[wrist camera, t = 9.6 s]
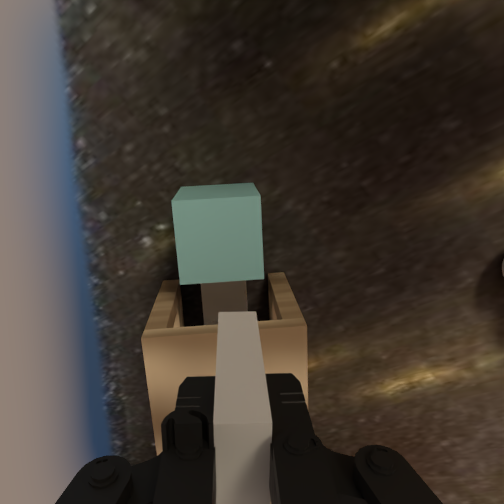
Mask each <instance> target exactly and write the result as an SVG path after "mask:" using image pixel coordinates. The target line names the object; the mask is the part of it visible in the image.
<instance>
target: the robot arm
mask: <svg viewBox="0 0 504 504" xmlns="http://www.w3.org/2000/svg"><path fill="white" fill-rule="evenodd" d="M161 434H162V449H163V451H162V452H161V453H160V454H159V455H158V456H156V457H154V458H153V459H151V460H148V461H146V462H143V463H140V464H136V465H133V466H131V465H130V463H129V462H128V461H127V460H126V459H125V458H122V457H119V456H103V457H100V458H96V459H94V460H93V461H91V462H89V463H88V464H86V465H85V466H84V467H83V468H82V469H81V470H80V471H79V472H78V473H77V474H76V476H75V477H74V478H73V480H72V481H71V482H70V484H69V485H68V487H67V488H66V489H65V491H64V492H63V493H62V495H61V496H60V498H59V499H58V500H57V502H56V503H55V504H270V499H271V504H443V503H442V502H441V501H440V500H439V499H438V498H437V496H436V495H435V494H434V493H433V492H432V490H431V489H430V488H429V487H428V486H427V484H426V483H425V482H424V481H423V480H422V479H421V477H420V476H419V475H418V474H417V473H416V471H415V470H414V469H413V468H412V467H411V465H410V464H409V463H408V462H407V461H406V460H405V458H404V457H402V456H401V455H400V454H399V453H398V452H397V451H394V450H392V449H390V448H388V447H385V446H380V445H367V446H365V447H363V448H361V449H359V451H358V452H357V453H356V454H355V457H353V456H348V455H344V454H340V453H336V452H333V451H331V450H329V449H327V448H326V447H325V446H323V444H322V442H321V440H320V439H319V438H318V437H317V436H316V435H315V434H314V430H313V427H312V423H311V419H310V416H309V412H308V408H307V405H306V403H305V397H304V394H303V390H302V386H301V383H300V381H299V380H298V379H297V378H296V377H295V376H294V375H293V374H292V373H270V374H265V369H264V362H263V355H262V348H261V342H260V335H259V328H258V321H257V314H256V311H250V312H219V314H218V334H217V355H216V375H215V376H195V377H186V378H185V380H184V381H183V382H182V383H181V384H180V386H179V389H178V395H177V400H176V407H175V411H173V412H171V413H169V414H168V415H167V416H166V417H165V418H164V419H163V421H162V423H161Z"/></svg>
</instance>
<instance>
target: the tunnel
mask: <svg viewBox="0 0 504 504" xmlns="http://www.w3.org/2000/svg"><path fill="white" fill-rule="evenodd" d="M268 294H269V318H270V320H269V321H258V328H259V335H260V342H261V348H262V355H263V362H264V369H265V374H270V373H292V374H293V375H294V376H295V377H296V378H297V379H298V380H299V381H300V383H301V386H302V390H303V394H304V397H305V403H306V405H307V408H308V360H307V325H306V322H305V320H304V318H303V315H302V313H301V311H300V308H299V306H298V304H297V302H296V299H295V297H294V295H293V292H292V290H291V288H290V285H289V283H288V281H287V278H286V276H285V274H284V272H277V273H268ZM217 334H218V324H216V325H203V326H189V327H184V317H183V308H182V298H181V288H180V280H179V279H177V280H163V282H162V285H161V287H160V290H159V293H158V295H157V298H156V300H155V303H154V306H153V308H152V311H151V314H150V316H149V319H148V322H147V324H146V327H145V329H144V332H143V335H142V337H141V342H142V349H143V356H144V364H145V371H146V378H147V386H148V393H149V400H150V408H151V415H152V423H153V430H154V437H155V445H156V452H157V456H158V455H159V454H160V453H161V452H162V451H163V449H162V434H161V423H162V421H163V419H164V418H165V417H166V416H167V415H168V414H169V413H171V412H173V411H175V407H176V400H177V395H178V389H179V386H180V384H181V383H182V382H183V381H184V380H185V378H186V377H195V376H215V375H216V355H217ZM270 504H271V499H270Z"/></svg>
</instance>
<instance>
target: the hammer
mask: <svg viewBox="0 0 504 504" xmlns="http://www.w3.org/2000/svg"><path fill="white" fill-rule="evenodd" d="M200 284H201V295H202V306H203V317H204V325H216V324H218V314H219V312H248V305H247V287H246V280H243V281H229V282H214V283H200Z"/></svg>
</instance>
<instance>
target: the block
mask: <svg viewBox="0 0 504 504" xmlns="http://www.w3.org/2000/svg"><path fill="white" fill-rule="evenodd" d="M171 202H172V212H173V222H174V231H175V241H176V251H177V260H178V270H179V280H180V285H186V284H200V283H214V282H229V281H243V280H257V279H264V264H263V241H262V218H261V196H260V194H259V192H258V190H257V189H256V187H255V185H254V183H239V184H221V185H204V186H187V187H181V188H180V189H179V191H178V192H177V194H176V195H175V196H174V198H173V199H172V201H171Z"/></svg>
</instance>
